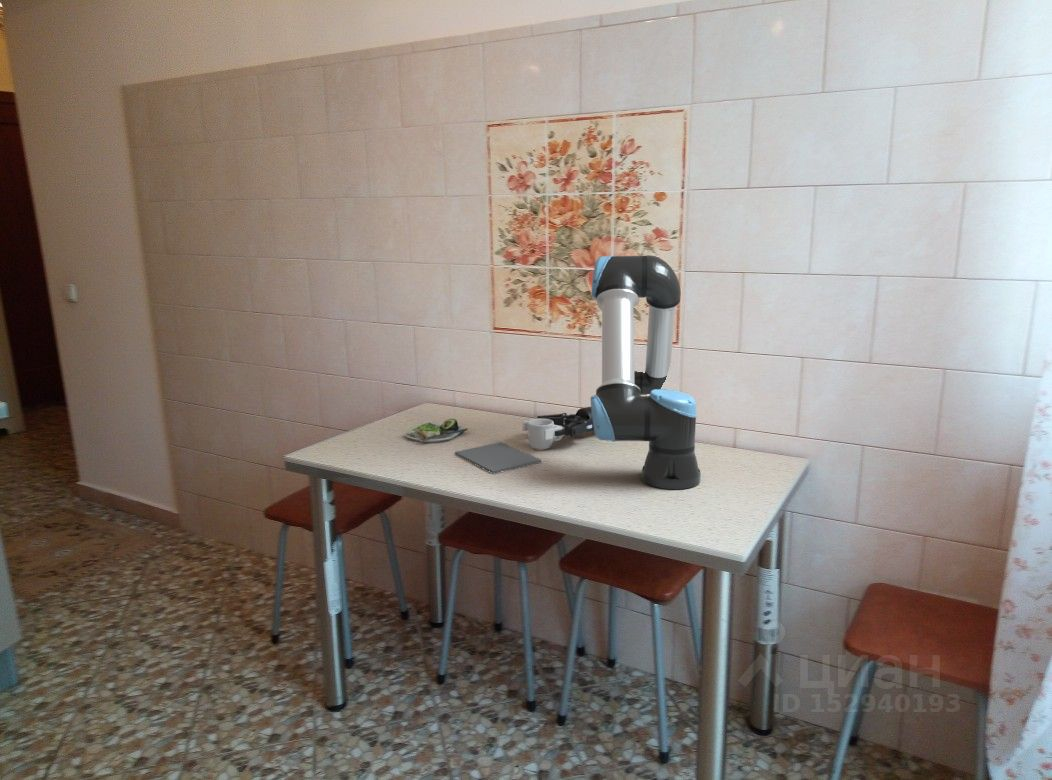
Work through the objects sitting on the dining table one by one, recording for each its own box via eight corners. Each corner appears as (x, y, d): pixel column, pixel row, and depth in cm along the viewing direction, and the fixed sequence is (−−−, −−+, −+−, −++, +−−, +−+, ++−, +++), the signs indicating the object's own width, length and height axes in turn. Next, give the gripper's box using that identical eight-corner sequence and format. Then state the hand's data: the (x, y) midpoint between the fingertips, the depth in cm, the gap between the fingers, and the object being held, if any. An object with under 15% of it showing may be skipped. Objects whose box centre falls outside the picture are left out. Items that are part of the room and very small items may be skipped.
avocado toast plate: (444, 449, 221) (443, 434, 219) (393, 443, 227) (392, 429, 226) (472, 432, 238) (472, 418, 237) (424, 427, 245) (424, 413, 244)
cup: (564, 443, 223) (563, 418, 221) (562, 452, 215) (562, 425, 213) (528, 443, 224) (528, 418, 222) (526, 451, 216) (525, 425, 214)
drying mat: (541, 462, 206) (541, 459, 206) (493, 474, 197) (493, 471, 197) (501, 444, 223) (501, 442, 223) (455, 454, 214) (455, 451, 214)
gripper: (616, 438, 220) (557, 452, 207) (569, 422, 238) (512, 433, 226) (616, 414, 218) (557, 426, 206) (569, 399, 236) (512, 410, 224)
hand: (533, 430), depth 216 cm, fingers open, 10 cm apart
